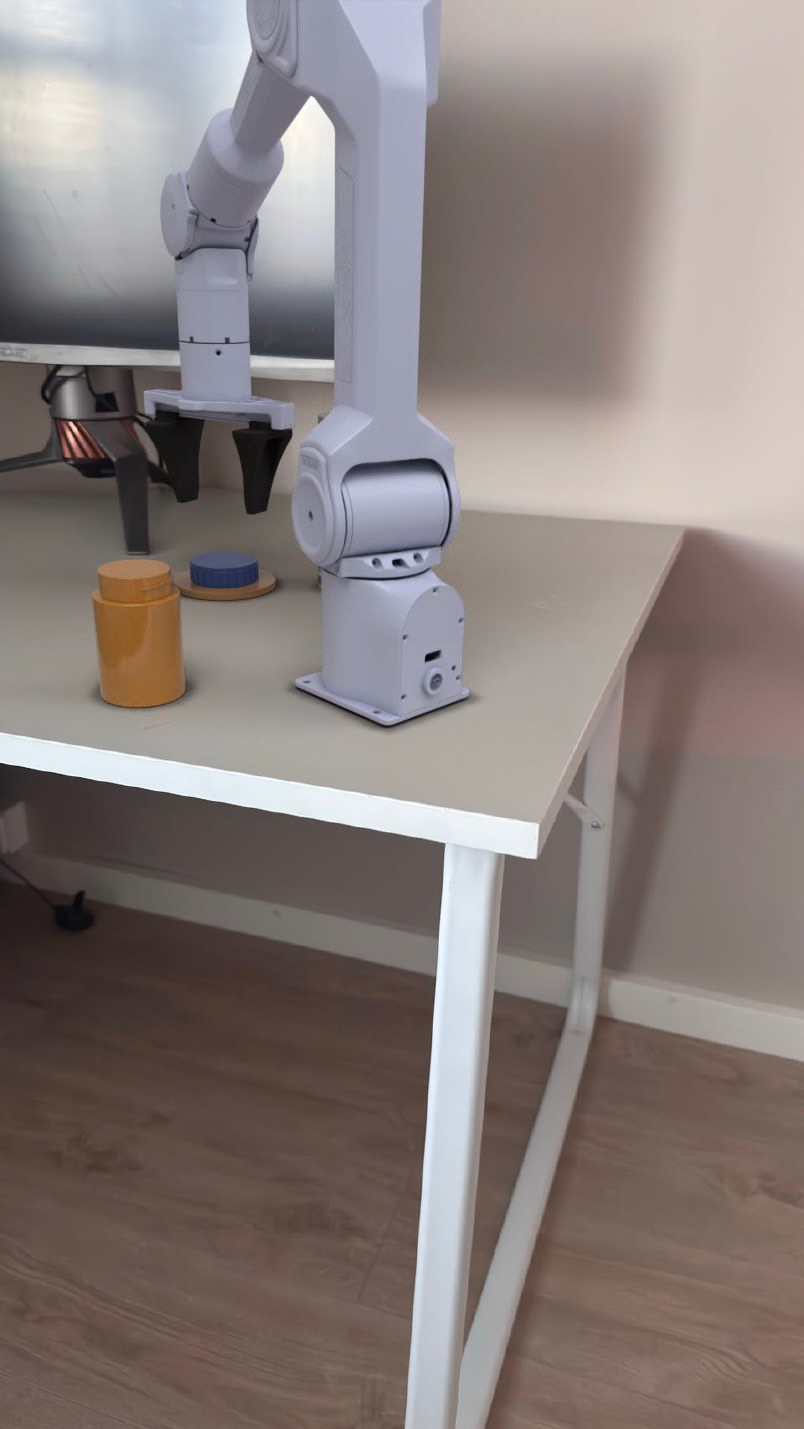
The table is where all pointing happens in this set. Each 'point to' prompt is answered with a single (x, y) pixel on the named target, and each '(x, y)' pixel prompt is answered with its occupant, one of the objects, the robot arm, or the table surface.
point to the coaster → (206, 593)
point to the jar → (138, 634)
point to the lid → (224, 569)
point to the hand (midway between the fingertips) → (221, 506)
